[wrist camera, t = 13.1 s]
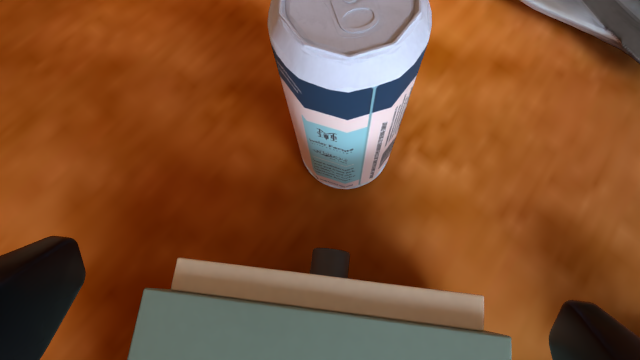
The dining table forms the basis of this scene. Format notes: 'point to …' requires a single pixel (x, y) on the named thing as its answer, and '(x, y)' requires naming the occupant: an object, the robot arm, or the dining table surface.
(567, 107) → the dining table surface
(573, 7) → the avocado toast plate
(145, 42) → the dining table surface
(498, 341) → the drawer box
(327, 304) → the drawer
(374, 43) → the beer can
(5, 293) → the robot arm
